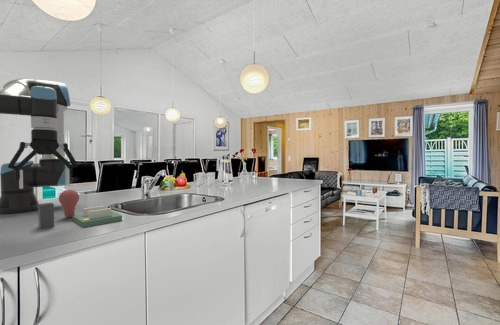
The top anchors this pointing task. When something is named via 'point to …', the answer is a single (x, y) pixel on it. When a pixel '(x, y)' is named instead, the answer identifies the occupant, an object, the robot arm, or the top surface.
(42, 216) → the dark gray block
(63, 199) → the light bulb
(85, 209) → the board
